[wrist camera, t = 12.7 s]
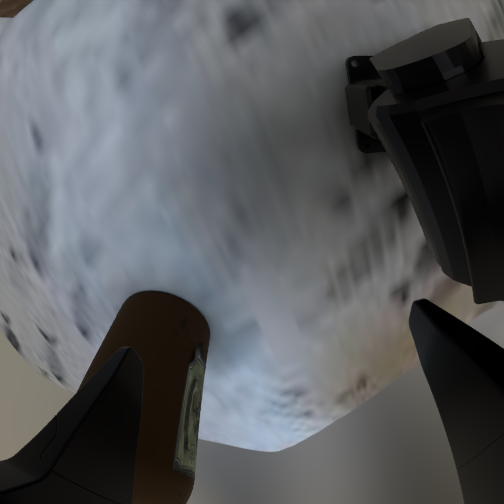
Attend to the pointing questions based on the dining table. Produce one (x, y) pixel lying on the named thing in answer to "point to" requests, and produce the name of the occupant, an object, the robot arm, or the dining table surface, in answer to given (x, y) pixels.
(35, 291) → the dining table surface
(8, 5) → the pocket rack
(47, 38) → the dining table surface
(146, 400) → the olive oil
